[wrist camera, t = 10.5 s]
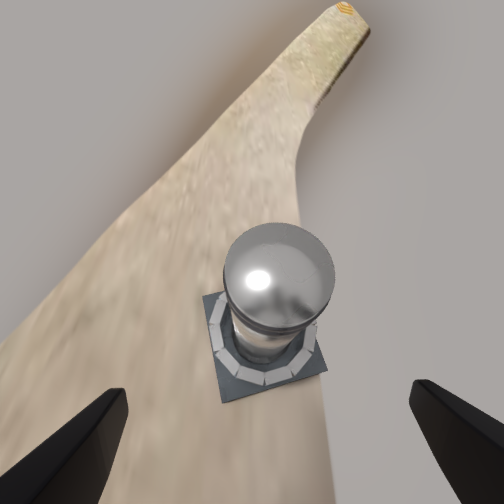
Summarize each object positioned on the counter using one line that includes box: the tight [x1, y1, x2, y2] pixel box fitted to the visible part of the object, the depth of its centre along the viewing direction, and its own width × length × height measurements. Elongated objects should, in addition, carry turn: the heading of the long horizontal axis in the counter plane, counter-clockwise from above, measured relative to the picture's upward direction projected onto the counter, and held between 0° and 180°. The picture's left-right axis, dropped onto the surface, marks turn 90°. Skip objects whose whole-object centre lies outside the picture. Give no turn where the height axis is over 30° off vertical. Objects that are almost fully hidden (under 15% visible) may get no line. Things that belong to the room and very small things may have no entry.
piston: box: [223, 223, 335, 364], centre depth 16 cm, size 5×5×13 cm
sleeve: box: [202, 291, 328, 403], centre depth 21 cm, size 9×9×3 cm
